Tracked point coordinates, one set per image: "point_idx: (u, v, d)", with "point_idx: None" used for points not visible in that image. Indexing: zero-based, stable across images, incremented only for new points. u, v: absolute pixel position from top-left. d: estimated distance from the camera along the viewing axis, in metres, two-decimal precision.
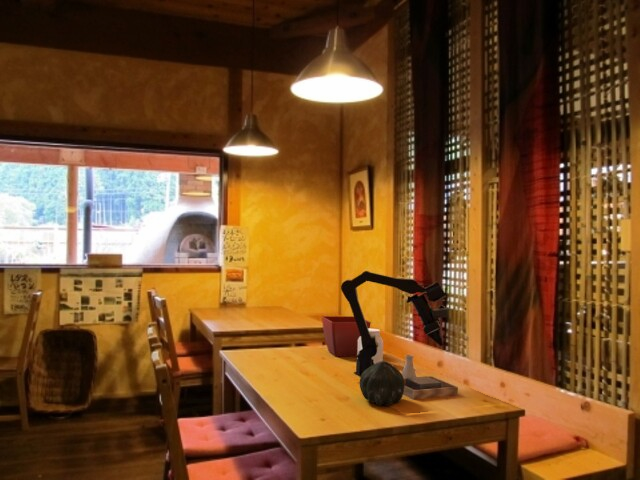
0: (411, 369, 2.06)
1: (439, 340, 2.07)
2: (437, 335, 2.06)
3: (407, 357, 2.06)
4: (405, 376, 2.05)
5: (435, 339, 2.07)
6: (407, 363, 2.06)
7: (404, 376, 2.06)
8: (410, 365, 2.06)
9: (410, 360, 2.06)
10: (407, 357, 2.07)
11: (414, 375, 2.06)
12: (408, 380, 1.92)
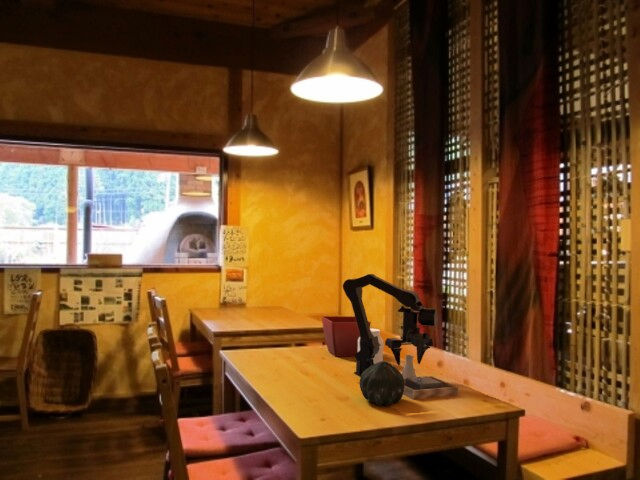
0: (411, 369, 2.06)
1: (396, 359, 2.05)
2: (396, 353, 2.05)
3: (407, 357, 2.06)
4: (405, 376, 2.05)
5: (394, 355, 2.06)
6: (407, 363, 2.06)
7: (404, 376, 2.06)
8: (410, 365, 2.06)
9: (410, 360, 2.06)
10: (407, 357, 2.07)
11: (414, 375, 2.06)
12: (408, 380, 1.92)
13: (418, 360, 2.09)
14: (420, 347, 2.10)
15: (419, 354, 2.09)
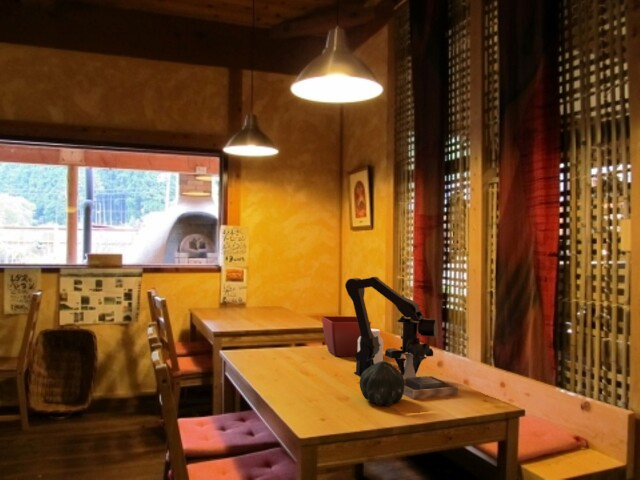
0: (411, 369, 2.06)
1: (401, 369, 2.06)
2: (400, 363, 2.06)
3: (407, 356, 2.06)
4: (405, 376, 2.05)
5: (398, 365, 2.07)
6: (407, 363, 2.06)
7: (404, 376, 2.06)
8: (410, 365, 2.06)
9: (410, 360, 2.06)
10: (407, 357, 2.07)
11: (414, 375, 2.06)
12: (408, 380, 1.92)
13: None
14: (416, 357, 2.09)
15: (415, 364, 2.09)
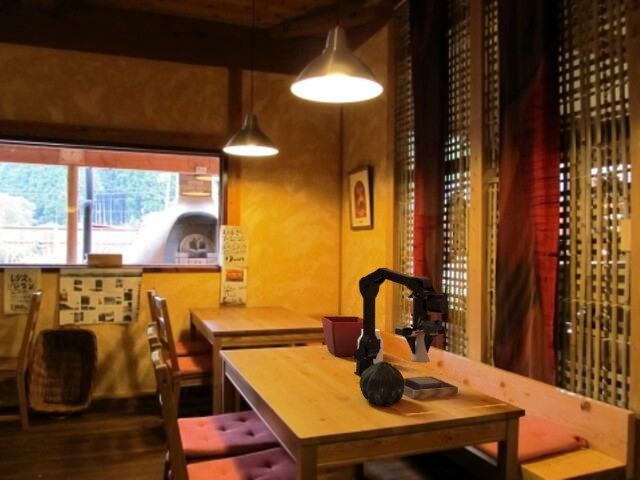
0: (423, 348, 1.95)
1: (412, 347, 1.95)
2: (411, 342, 1.95)
3: (418, 335, 1.96)
4: (416, 355, 1.94)
5: (409, 344, 1.96)
6: (418, 342, 1.96)
7: (415, 356, 1.95)
8: (421, 344, 1.95)
9: (421, 339, 1.96)
10: (418, 335, 1.96)
11: (426, 354, 1.95)
12: (408, 380, 1.92)
13: (426, 349, 1.98)
14: (427, 335, 1.98)
15: (427, 343, 1.98)
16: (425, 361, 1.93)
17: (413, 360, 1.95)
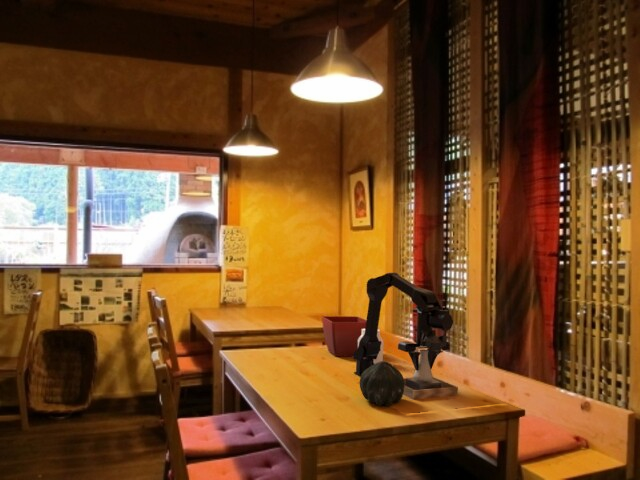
0: (426, 365, 1.90)
1: (415, 363, 1.90)
2: (414, 358, 1.89)
3: (422, 351, 1.90)
4: (420, 372, 1.89)
5: (412, 360, 1.91)
6: (422, 358, 1.90)
7: (418, 372, 1.89)
8: (425, 360, 1.90)
9: (425, 355, 1.90)
10: (422, 352, 1.90)
11: (429, 371, 1.90)
12: (408, 380, 1.92)
13: None
14: (431, 351, 1.93)
15: (430, 359, 1.92)
16: (428, 378, 1.88)
17: (416, 377, 1.89)
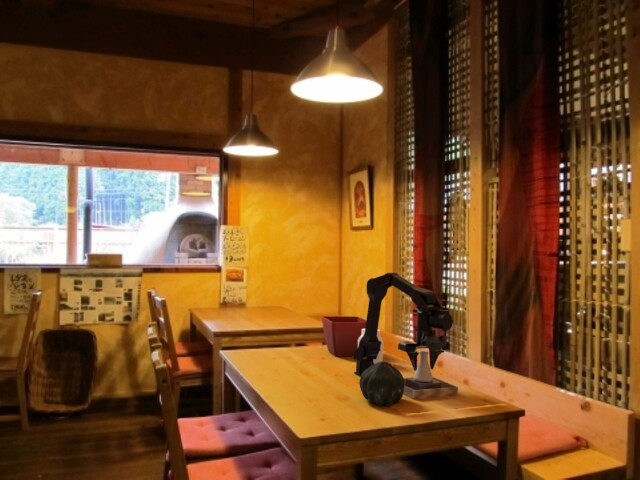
0: (426, 367, 1.90)
1: (413, 364, 1.90)
2: (413, 358, 1.89)
3: (422, 353, 1.90)
4: (420, 374, 1.89)
5: (411, 360, 1.90)
6: (422, 360, 1.90)
7: (418, 374, 1.89)
8: (425, 362, 1.90)
9: (425, 357, 1.90)
10: (422, 354, 1.90)
11: (429, 373, 1.90)
12: (408, 380, 1.92)
13: (431, 365, 1.93)
14: (433, 351, 1.93)
15: (432, 359, 1.93)
16: (428, 380, 1.88)
17: (416, 379, 1.89)
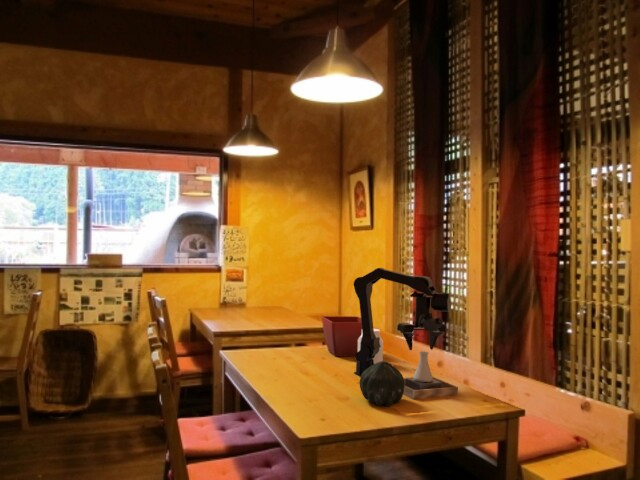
0: (426, 367, 1.90)
1: (409, 344, 2.03)
2: (408, 338, 2.03)
3: (422, 353, 1.90)
4: (420, 374, 1.89)
5: (407, 340, 2.04)
6: (422, 360, 1.90)
7: (418, 374, 1.89)
8: (425, 362, 1.90)
9: (425, 357, 1.90)
10: (422, 354, 1.90)
11: (429, 373, 1.90)
12: (408, 380, 1.92)
13: (431, 346, 2.07)
14: (433, 333, 2.07)
15: (432, 340, 2.07)
16: (428, 380, 1.88)
17: (416, 379, 1.89)
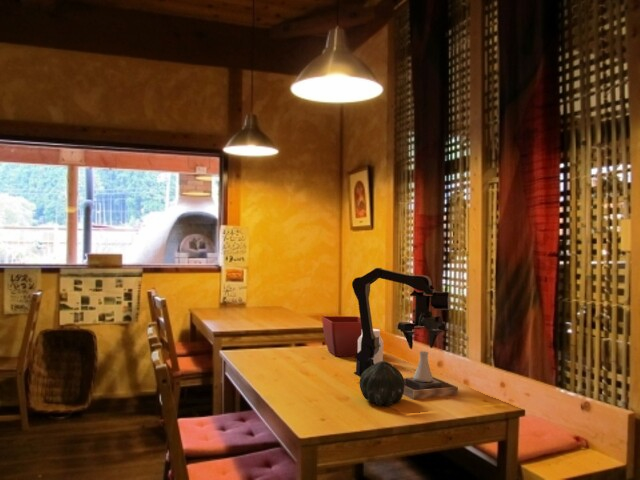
0: (426, 367, 1.90)
1: (409, 342, 2.05)
2: (409, 337, 2.05)
3: (422, 353, 1.90)
4: (420, 374, 1.89)
5: (407, 339, 2.06)
6: (422, 360, 1.90)
7: (418, 374, 1.89)
8: (425, 362, 1.90)
9: (425, 357, 1.90)
10: (422, 354, 1.90)
11: (429, 373, 1.90)
12: (408, 380, 1.92)
13: (430, 344, 2.09)
14: (432, 331, 2.09)
15: (431, 338, 2.09)
16: (428, 380, 1.88)
17: (416, 379, 1.89)
